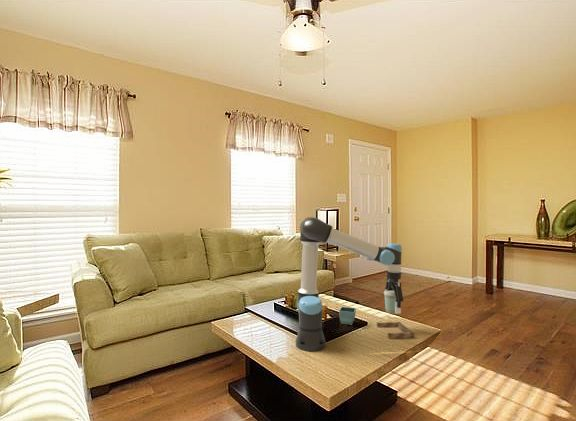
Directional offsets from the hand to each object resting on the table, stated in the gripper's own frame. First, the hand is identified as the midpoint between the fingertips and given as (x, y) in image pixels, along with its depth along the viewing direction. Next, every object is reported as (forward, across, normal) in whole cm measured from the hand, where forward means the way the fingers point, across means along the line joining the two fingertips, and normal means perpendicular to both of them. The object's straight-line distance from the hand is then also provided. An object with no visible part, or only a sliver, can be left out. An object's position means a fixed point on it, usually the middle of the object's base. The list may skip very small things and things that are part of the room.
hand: (393, 309), depth 178 cm
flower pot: (+13, +14, +22) cm, 29 cm away
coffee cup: (+2, +3, 0) cm, 3 cm away
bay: (+12, 0, 0) cm, 12 cm away
